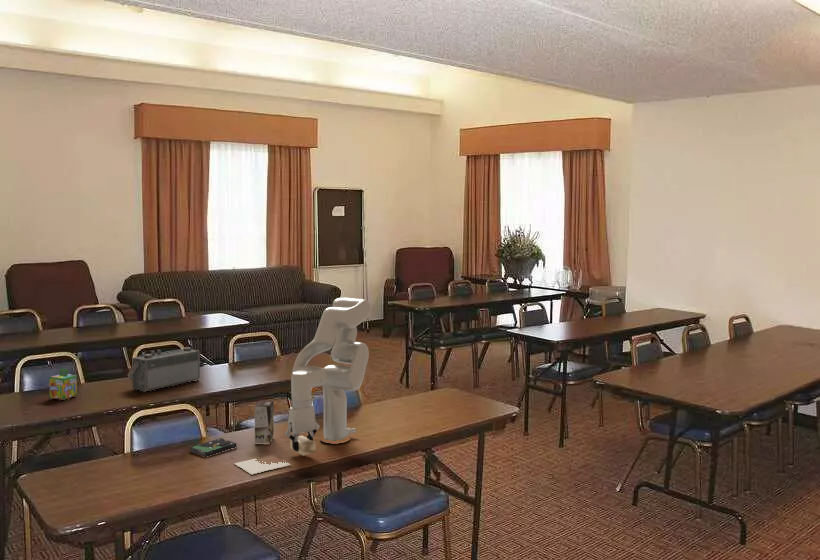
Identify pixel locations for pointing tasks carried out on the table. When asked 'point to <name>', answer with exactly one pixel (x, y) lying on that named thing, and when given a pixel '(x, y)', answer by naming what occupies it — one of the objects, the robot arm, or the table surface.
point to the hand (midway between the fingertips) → (302, 448)
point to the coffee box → (264, 421)
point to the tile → (305, 445)
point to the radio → (165, 369)
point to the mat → (259, 466)
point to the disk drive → (212, 447)
